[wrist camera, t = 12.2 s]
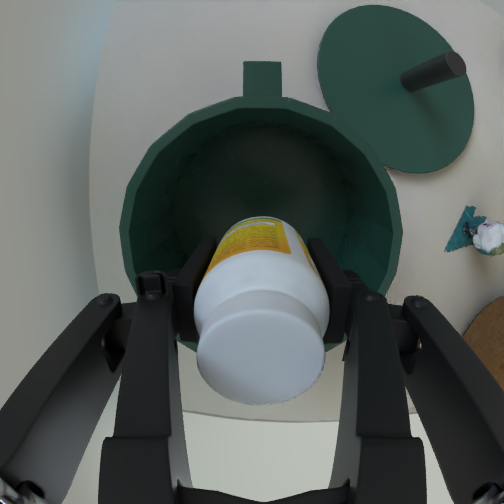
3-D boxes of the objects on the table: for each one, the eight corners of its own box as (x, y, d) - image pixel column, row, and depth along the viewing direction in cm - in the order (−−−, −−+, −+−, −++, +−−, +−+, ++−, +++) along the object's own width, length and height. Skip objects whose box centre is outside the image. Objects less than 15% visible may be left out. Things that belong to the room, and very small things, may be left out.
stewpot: (179, 316, 33) (150, 380, 22) (166, 101, 25) (115, 74, 14) (339, 318, 33) (366, 383, 22) (355, 102, 25) (407, 77, 14)
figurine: (499, 170, 24) (536, 195, 18) (496, 226, 29) (525, 255, 23) (437, 191, 27) (475, 223, 20) (438, 252, 31) (466, 288, 25)
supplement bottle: (322, 246, 17) (383, 342, 8) (272, 310, 18) (280, 432, 9) (248, 195, 16) (233, 250, 7) (201, 268, 17) (150, 376, 8)
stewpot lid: (316, 163, 27) (346, 166, 17) (310, -5, 20) (328, -56, 10) (468, 182, 26) (523, 197, 17) (458, 37, 20) (504, 18, 10)
